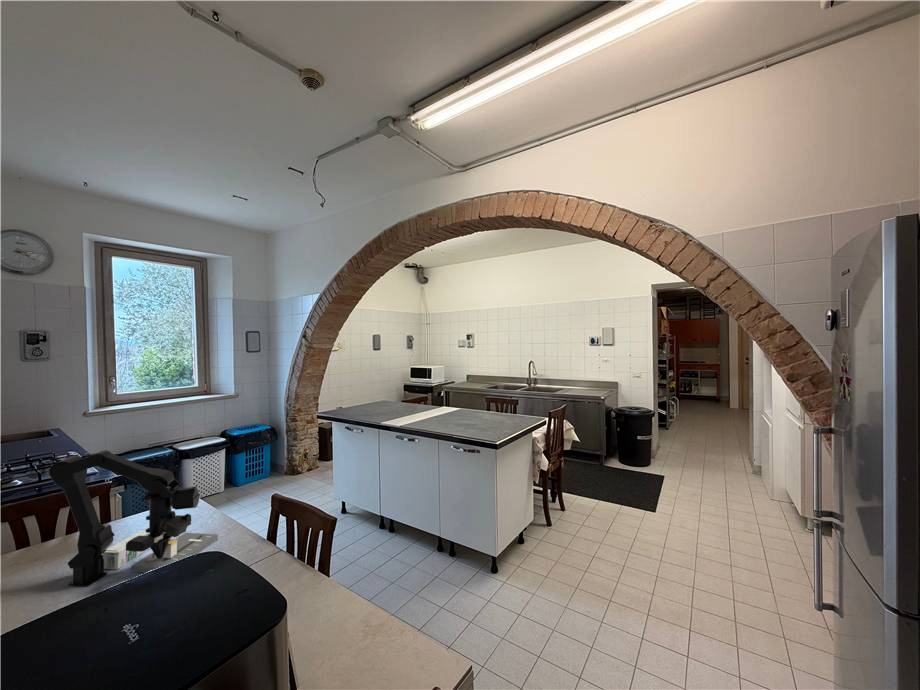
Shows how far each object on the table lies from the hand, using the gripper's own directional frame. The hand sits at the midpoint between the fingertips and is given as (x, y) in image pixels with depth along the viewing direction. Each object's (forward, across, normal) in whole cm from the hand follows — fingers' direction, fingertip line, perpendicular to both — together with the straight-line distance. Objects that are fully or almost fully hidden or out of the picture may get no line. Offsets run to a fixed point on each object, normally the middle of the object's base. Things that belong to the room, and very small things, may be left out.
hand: (160, 558), depth 124 cm
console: (+4, +9, +2) cm, 10 cm away
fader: (+1, +4, 0) cm, 4 cm away
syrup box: (+1, +13, +17) cm, 22 cm away
